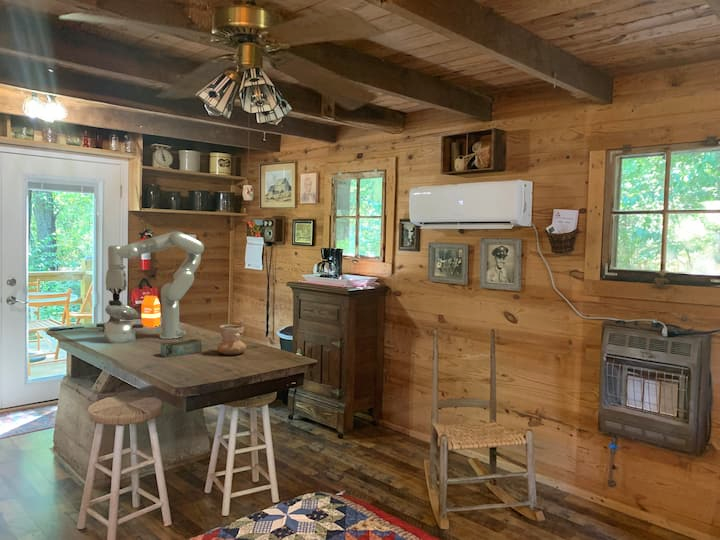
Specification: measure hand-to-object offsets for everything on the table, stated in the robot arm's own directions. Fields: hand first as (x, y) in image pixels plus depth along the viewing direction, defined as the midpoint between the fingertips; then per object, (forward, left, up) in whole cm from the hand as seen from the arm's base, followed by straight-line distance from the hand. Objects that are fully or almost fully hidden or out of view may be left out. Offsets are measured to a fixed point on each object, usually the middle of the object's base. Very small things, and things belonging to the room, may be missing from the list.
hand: (116, 300), depth 306 cm
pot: (0, -4, -23) cm, 23 cm away
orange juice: (+2, -52, -23) cm, 57 cm away
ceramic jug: (-70, +22, -23) cm, 77 cm away
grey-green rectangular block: (-45, +25, -24) cm, 57 cm away
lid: (0, -5, -7) cm, 8 cm away
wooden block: (+20, -35, -23) cm, 47 cm away
